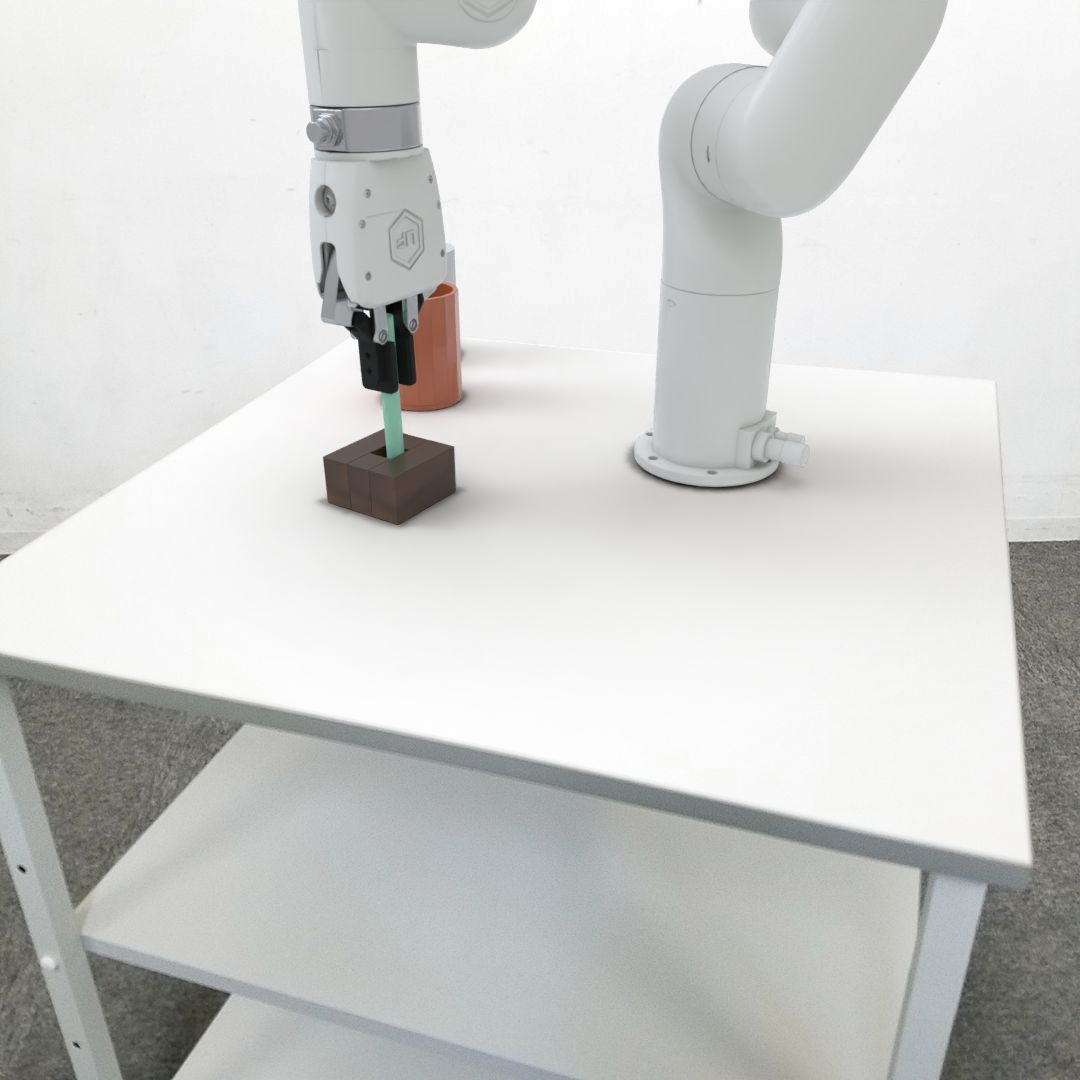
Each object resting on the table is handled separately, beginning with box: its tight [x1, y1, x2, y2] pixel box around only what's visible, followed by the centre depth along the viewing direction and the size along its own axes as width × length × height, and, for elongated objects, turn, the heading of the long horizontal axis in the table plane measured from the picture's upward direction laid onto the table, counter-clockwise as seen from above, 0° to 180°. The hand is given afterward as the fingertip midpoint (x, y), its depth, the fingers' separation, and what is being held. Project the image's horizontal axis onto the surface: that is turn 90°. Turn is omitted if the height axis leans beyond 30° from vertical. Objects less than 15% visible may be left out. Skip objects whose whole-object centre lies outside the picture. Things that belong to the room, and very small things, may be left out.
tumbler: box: [399, 282, 463, 412], centre depth 103 cm, size 8×8×11 cm
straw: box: [380, 313, 404, 459], centre depth 81 cm, size 1×1×14 cm
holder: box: [322, 428, 457, 525], centre depth 83 cm, size 7×7×4 cm
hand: (389, 384), depth 80 cm, fingers closed on straw, 1 cm apart
